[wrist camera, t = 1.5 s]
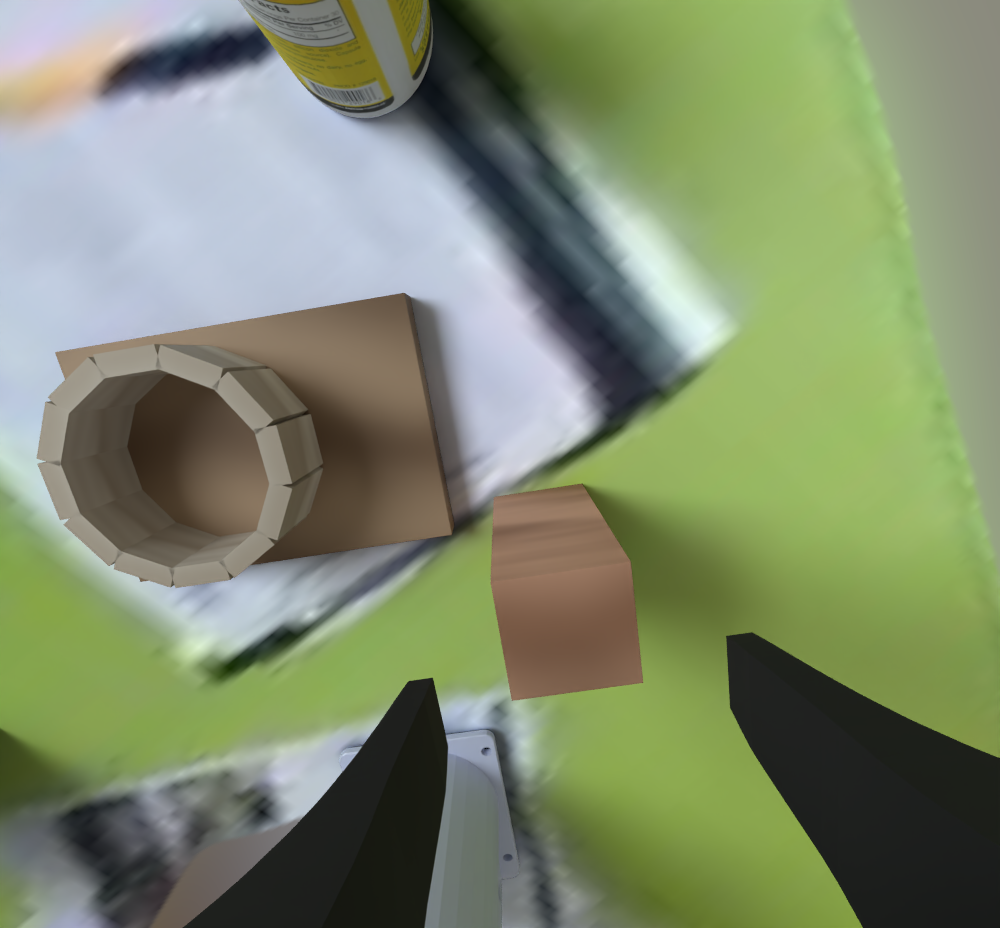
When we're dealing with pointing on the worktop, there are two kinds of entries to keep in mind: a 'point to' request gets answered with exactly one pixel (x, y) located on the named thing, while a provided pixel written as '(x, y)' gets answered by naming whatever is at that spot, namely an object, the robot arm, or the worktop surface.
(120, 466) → the caddy board
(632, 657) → the peg
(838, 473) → the worktop surface
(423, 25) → the supplement bottle
